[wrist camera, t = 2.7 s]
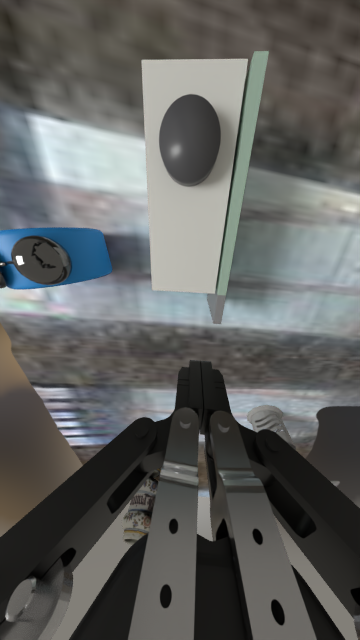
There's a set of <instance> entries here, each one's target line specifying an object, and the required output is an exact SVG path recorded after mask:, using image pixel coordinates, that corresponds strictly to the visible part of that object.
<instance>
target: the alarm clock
mask: <svg viewBox="0 0 360 640" xmlns="http://www.w3.org/2000/svg"><path fill="white" fill-rule="evenodd" d="M111 272H112V265H111V262H110V258H109V254H108V250H107V246H106V243H105V239H104V235H103V233H102V232H101V231H100V230H97V229H89V228H26V229H11V230H1V231H0V288H5V287H6V286H7V287H9V288H11V289H36V288H45V287H53V286H60V285H66V284H72V283H77V282H82V281H87V280H91V279H95V278H98V277H102V276H105V275H107V274H110V273H111Z"/></svg>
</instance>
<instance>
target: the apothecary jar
mask: <svg viewBox="0 0 360 640" xmlns="http://www.w3.org/2000/svg"><path fill="white" fill-rule="evenodd" d="M160 473H161V470H160V469H159V468H158V469H156V470H154V472H153V473H152V474H151V476H150V477H149V478H148V479H147V480H146V482H145V483H144V484H143V485H142V487H141V488H140V489H139V490H138V492H137V493H136V494H135V495H134V497H133V498H132V499H131V503H130V506H129V510H128V513H126V514H125V516H124V517H123V520H122V527H123V529H124V536H123V541H124V542H125V543H127V544H129V545H133V544H134V543H135V542H136V541H137V540H139V539H140V538H141V537H142V536H144V535H146V534H147V533H149V529H150V524H151V519H152V513H153V508H154V503H155V498H156V493H157V488H158V483H159V482H158V481H157V480H155V479H154V478H155V477H157V476H159V475H160Z"/></svg>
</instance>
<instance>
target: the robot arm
mask: <svg viewBox="0 0 360 640" xmlns="http://www.w3.org/2000/svg"><path fill="white" fill-rule="evenodd" d="M199 432H200V434H203V435H205V447H204V453H205V461H206V469H207V478H208V486H209V494H210V518H211V528H212V537H213V541H209V540H207V539H205V538H204V537H202V536H200V535H198V534H197V508H198V441H199ZM161 467H162V469H161V473H160V478H159V483H158V488H157V493H156V498H155V503H154V508H153V513H152V519H151V524H150V529H149V533H147V534H146V535H144V536H142V537H141V538H140V539H139V540H137V541H136V542H135V543H134V544H133V545H132V546H131V547H130V548H129V550H128V551H127V552H126V553H125V555H124V556H123V557H122V559H121V560H120V562H119V563H118V565H117V567H116V568H115V570H114V571H113V573H112V574H111V576H110V577H109V579H108V580H107V582H106V583H105V585H104V586H103V588H102V589H101V591H100V593H99V594H98V596H97V597H96V599H95V601H94V602H93V604H92V605H91V606H90V608H89V610H88V611H87V613H86V614H85V616H84V617H83V619H82V620H81V622H80V623H79V625H78V626H77V628H76V630H75V631H74V633H73V634H72V636H71V637H70V639H69V640H345V638H344V637H343V635H342V634H341V632H340V631H339V630H338V628H337V627H336V625H335V624H334V622H333V621H332V619H331V618H330V616H329V615H328V614H327V612H326V611H325V609H324V608H323V606H322V605H321V603H320V602H319V600H318V599H317V597H316V596H315V595H314V593H313V592H312V590H311V589H310V587H309V586H308V584H307V583H306V582H305V580H304V579H303V578H302V576H301V575H300V574H299V573H298V572H297V570H296V569H295V568H294V567H293V566H292V565H291V564H290V561H289V558H288V555H287V552H286V549H285V546H284V543H283V540H282V538H281V535H280V532H279V529H278V526H277V523H276V521H275V517H276V518H277V519H278V521H279V522H280V523H281V525H282V526H283V527H284V529H285V530H286V531H287V533H288V534H289V535H290V536H291V538H292V539H293V540H294V542H295V543H296V544H297V546H298V547H299V548H300V549H301V551H302V552H303V553H304V555H305V556H306V557H307V559H308V560H309V561H310V562H311V564H312V565H313V566H314V568H315V569H316V570H317V572H318V573H319V574H320V575H321V577H322V578H323V579H324V581H325V582H326V583H327V585H328V586H329V587H330V588H331V590H332V591H333V592H334V594H335V595H336V596H337V598H338V599H339V600H340V602H341V603H342V604H343V605H344V607H345V608H346V609H347V610H348V612H349V613H350V614H351V616H352V617H353V618H354V623H355V629H356V632H357V637H358V640H360V508H359V507H357V506H356V505H355V504H354V503H353V502H352V501H351V500H350V499H349V498H348V497H347V496H345V495H344V494H343V493H342V492H341V491H340V490H339V489H338V488H337V487H336V486H334V485H333V484H332V483H331V482H330V481H329V480H328V479H327V478H326V477H324V476H323V475H322V474H321V473H320V472H319V471H318V470H317V469H316V468H314V467H313V466H312V465H311V464H310V463H309V462H308V461H307V460H306V459H305V458H304V457H303V456H301V455H300V454H299V453H298V452H297V451H296V450H295V449H294V448H293V447H292V446H290V445H289V444H288V443H287V442H286V441H285V440H284V439H283V438H282V437H281V436H279V435H278V434H277V433H275V432H273V431H271V430H268V429H262V430H260V431H259V432H258V433H257V432H255V431H253V430H250V429H248V428H246V427H244V426H242V425H241V424H239V423H238V422H237V421H236V420H235V419H234V417H233V415H232V413H231V410H230V405H229V401H228V397H227V392H226V389H225V384H224V379H223V375H222V374H221V373H220V371H219V370H215V369H212V364H211V362H209V361H195V360H190V364H189V368H188V367H182V368H181V370H180V371H179V374H178V384H177V394H176V403H175V409H174V411H173V413H172V414H171V415H170V416H169V417H168V418H166V419H164V420H160V421H157V422H154V421H153V420H152V419H150V418H147V417H143V418H139V419H137V420H135V421H134V422H133V423H132V424H131V425H129V426H128V427H127V428H126V429H125V430H124V431H123V432H121V433H120V434H119V435H118V436H117V437H116V438H114V439H113V440H112V441H111V442H110V443H109V444H108V445H106V446H105V447H104V448H103V449H102V450H101V451H99V452H98V453H97V454H96V455H95V456H94V457H93V458H91V459H90V460H89V461H88V462H87V463H86V464H84V465H83V466H82V467H81V468H80V469H79V470H78V471H76V472H75V473H74V474H73V475H72V476H71V477H69V478H68V479H67V480H66V481H65V482H64V483H63V484H61V485H60V486H59V487H58V488H57V489H56V490H54V491H53V492H52V493H51V494H50V495H49V496H48V497H46V498H45V499H44V500H43V501H42V502H41V503H39V504H38V505H37V506H36V507H35V508H34V509H33V510H31V511H30V512H29V513H28V514H27V515H26V516H25V517H23V518H22V519H21V520H20V521H19V522H18V523H16V525H14V526H13V527H12V528H11V529H9V530H8V531H7V532H6V533H5V534H4V535H3V536H1V537H0V640H51V639H52V637H53V635H54V634H55V632H56V631H57V629H58V627H59V626H60V624H61V622H62V619H63V617H64V615H65V613H66V611H67V608H68V605H69V602H70V598H71V594H72V587H73V574H72V572H73V571H74V569H75V568H76V567H77V566H78V564H79V563H80V562H81V561H82V559H83V558H84V557H85V556H86V555H87V553H88V552H89V551H90V550H91V548H92V547H93V546H94V544H96V542H97V541H98V540H99V539H100V537H101V536H102V535H103V534H104V532H105V531H106V530H107V529H108V527H109V526H110V525H111V524H112V523H113V521H114V520H115V519H116V518H117V516H118V515H119V514H120V513H121V511H122V510H123V509H124V508H125V506H126V505H127V504H128V503H129V501H130V500H131V499H132V498H133V497H134V495H135V494H136V493H137V492H138V490H139V489H140V488H141V487H142V485H143V484H144V483H145V482H146V480H147V479H148V478H149V477H150V476H151V474H152V473H153V472H154V470H156V469H158V468H161ZM274 516H275V517H274ZM252 534H253V535H252Z"/></svg>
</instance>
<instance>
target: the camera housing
mask: <svg viewBox="0 0 360 640" xmlns="http://www.w3.org/2000/svg"><path fill="white" fill-rule="evenodd" d="M247 62H248V59H187V60H142V80H143V102H144V124H145V146H146V168H147V190H148V212H149V234H150V256H151V278H152V290H158V291H176V292H194V293H212V294H215V288H216V281H217V274H218V267H219V260H220V253H221V246H222V239H223V232H224V225H225V218H226V211H227V203H228V196H229V189H230V182H231V175H232V168H233V161H234V154H235V147H236V140H237V133H238V126H239V119H240V112H241V105H242V97H243V90H244V83H245V76H246V69H247Z"/></svg>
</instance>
